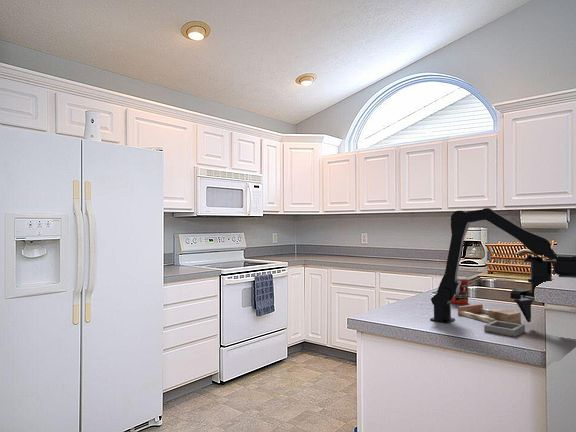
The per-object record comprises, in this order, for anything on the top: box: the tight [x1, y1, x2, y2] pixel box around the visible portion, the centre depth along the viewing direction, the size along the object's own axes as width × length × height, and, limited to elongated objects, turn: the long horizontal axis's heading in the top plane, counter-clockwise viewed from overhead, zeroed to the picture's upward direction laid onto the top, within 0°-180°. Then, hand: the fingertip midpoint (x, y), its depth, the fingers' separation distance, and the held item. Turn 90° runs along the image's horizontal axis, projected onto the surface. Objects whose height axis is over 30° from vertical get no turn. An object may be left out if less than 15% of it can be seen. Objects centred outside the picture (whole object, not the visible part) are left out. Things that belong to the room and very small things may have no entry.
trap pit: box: [483, 320, 526, 338], centre depth 132 cm, size 9×9×2 cm
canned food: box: [450, 275, 469, 305], centre depth 178 cm, size 8×8×11 cm
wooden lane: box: [457, 303, 495, 324], centre depth 151 cm, size 16×11×3 cm
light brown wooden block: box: [488, 308, 522, 324], centre depth 144 cm, size 8×6×4 cm
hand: (542, 325), depth 131 cm, fingers open, 9 cm apart
